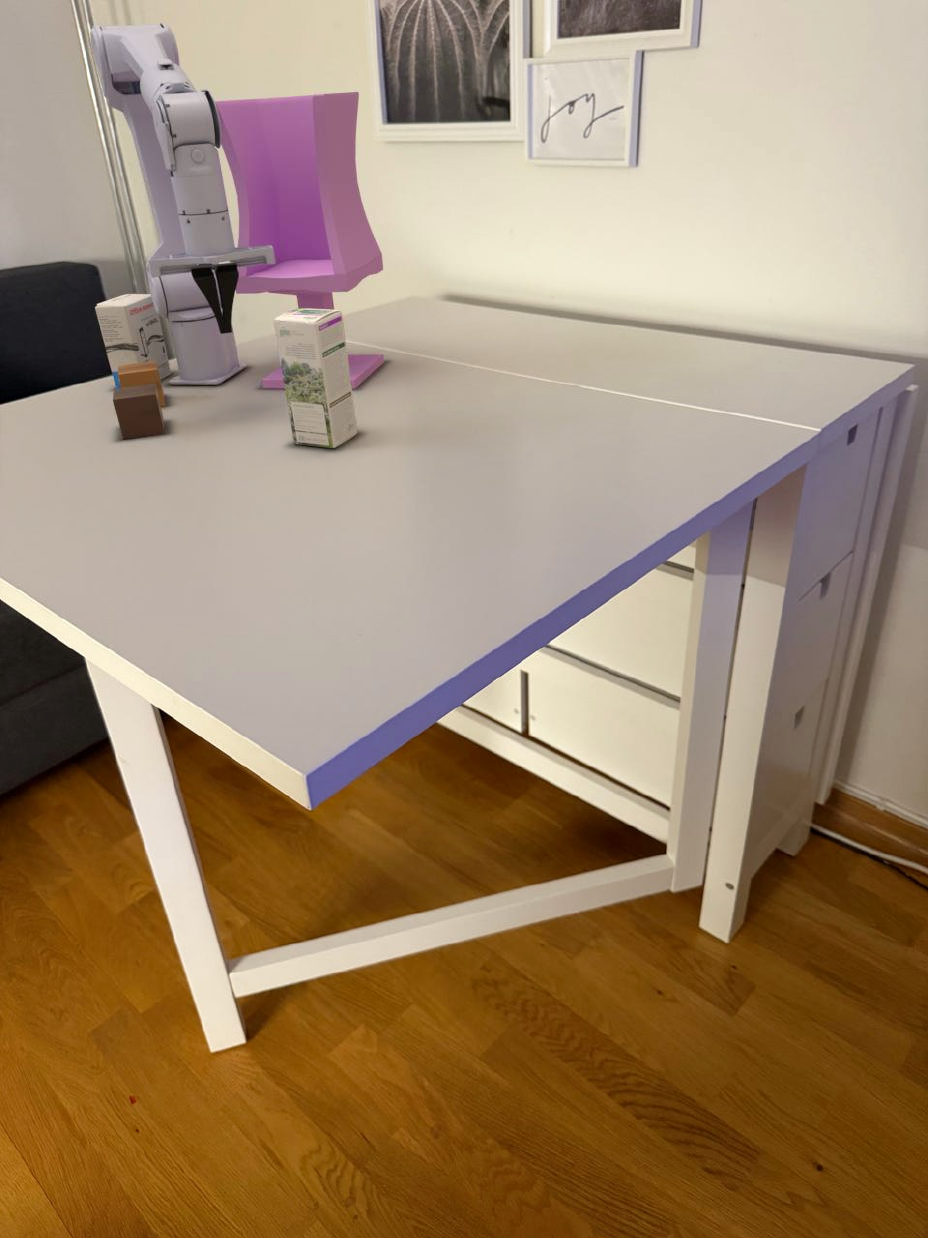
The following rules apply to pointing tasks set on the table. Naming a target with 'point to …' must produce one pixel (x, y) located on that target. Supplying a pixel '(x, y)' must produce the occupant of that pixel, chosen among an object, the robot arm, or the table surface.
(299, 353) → the syrup box
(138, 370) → the oak block
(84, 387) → the table surface
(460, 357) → the table surface
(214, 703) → the table surface
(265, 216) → the purple pedestal chair
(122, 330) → the ink box
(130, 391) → the walnut block
